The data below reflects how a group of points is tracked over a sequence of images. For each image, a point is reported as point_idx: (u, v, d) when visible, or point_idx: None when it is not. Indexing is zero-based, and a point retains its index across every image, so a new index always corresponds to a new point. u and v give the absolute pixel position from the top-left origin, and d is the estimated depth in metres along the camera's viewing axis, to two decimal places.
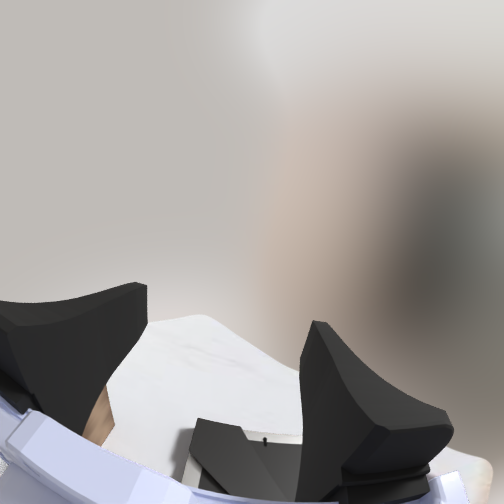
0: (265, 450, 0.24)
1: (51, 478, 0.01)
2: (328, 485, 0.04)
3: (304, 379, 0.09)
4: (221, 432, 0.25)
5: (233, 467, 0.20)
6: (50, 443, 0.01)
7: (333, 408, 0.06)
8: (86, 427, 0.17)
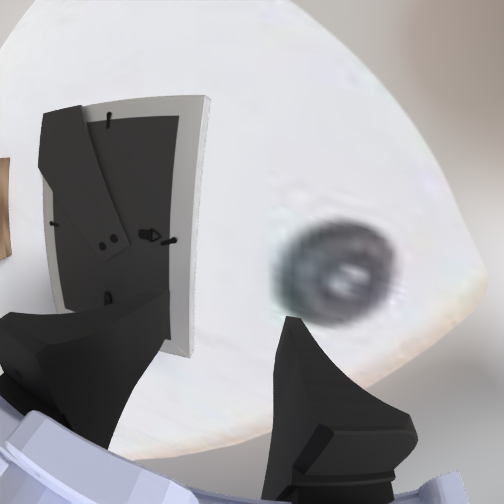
0: (106, 136, 0.17)
1: (51, 478, 0.01)
2: (282, 484, 0.04)
3: (276, 375, 0.10)
4: (61, 125, 0.16)
5: (72, 177, 0.18)
6: (50, 443, 0.01)
7: (293, 404, 0.06)
8: None
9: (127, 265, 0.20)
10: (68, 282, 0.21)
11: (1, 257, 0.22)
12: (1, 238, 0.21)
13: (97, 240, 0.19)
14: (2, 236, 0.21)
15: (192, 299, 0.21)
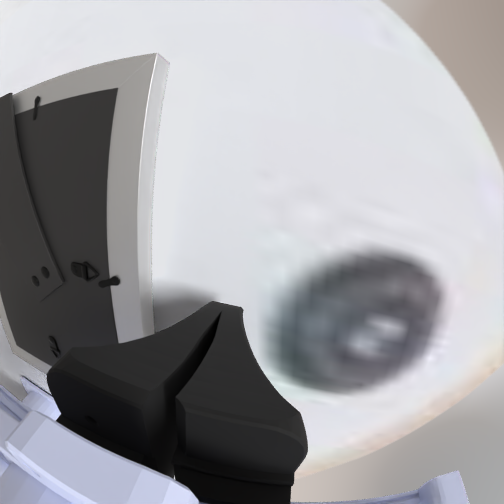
0: (32, 130, 0.10)
1: (51, 478, 0.01)
2: None
3: None
4: None
5: (1, 188, 0.11)
6: (50, 443, 0.01)
7: None
8: None
9: (65, 308, 0.13)
10: (13, 318, 0.14)
11: None
12: None
13: (29, 273, 0.12)
14: None
15: None
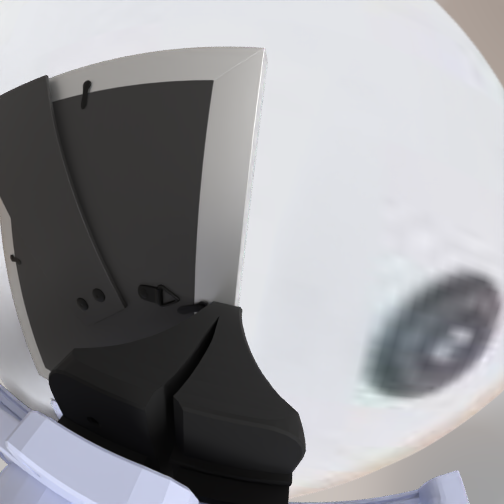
0: (81, 121, 0.09)
1: (51, 478, 0.01)
2: None
3: None
4: (18, 109, 0.08)
5: (32, 191, 0.10)
6: (50, 443, 0.01)
7: None
8: None
9: (124, 335, 0.12)
10: (44, 340, 0.13)
11: None
12: None
13: (73, 294, 0.11)
14: None
15: None
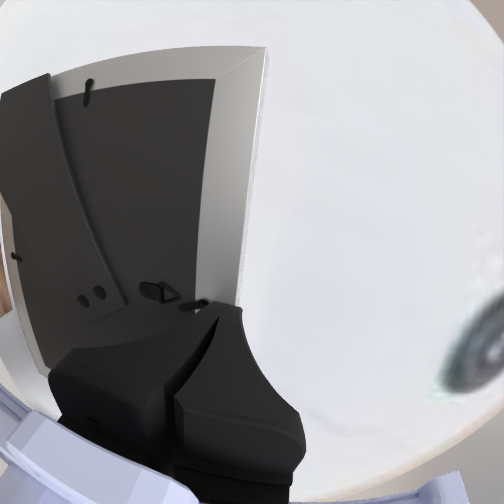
0: (83, 119, 0.09)
1: (51, 478, 0.01)
2: None
3: None
4: (20, 107, 0.08)
5: (33, 189, 0.10)
6: (50, 443, 0.01)
7: None
8: None
9: (124, 332, 0.12)
10: (44, 338, 0.13)
11: None
12: None
13: (74, 292, 0.11)
14: None
15: None
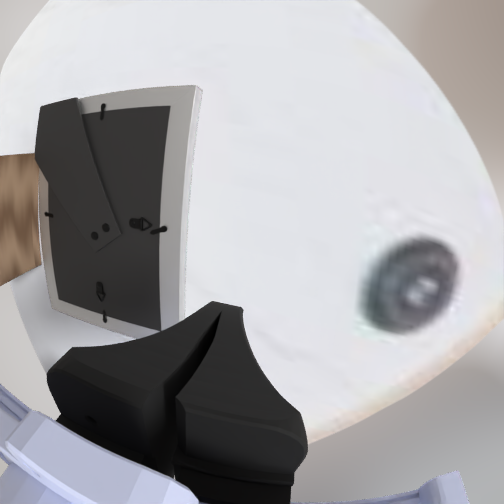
0: (100, 127, 0.17)
1: (51, 478, 0.01)
2: None
3: None
4: (57, 117, 0.16)
5: (67, 168, 0.18)
6: (50, 443, 0.01)
7: None
8: (3, 209, 0.16)
9: (118, 254, 0.20)
10: (62, 273, 0.21)
11: (30, 268, 0.21)
12: (30, 246, 0.21)
13: (89, 230, 0.19)
14: (31, 244, 0.21)
15: (182, 289, 0.21)
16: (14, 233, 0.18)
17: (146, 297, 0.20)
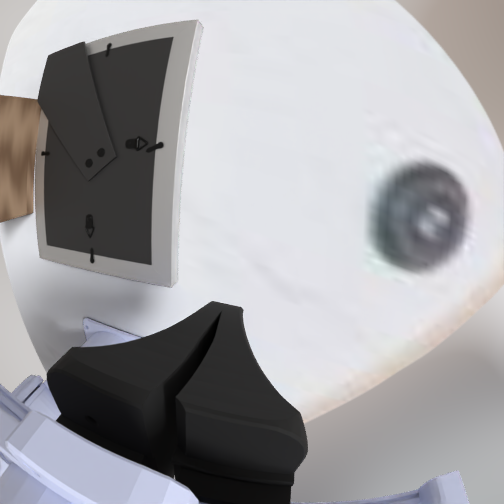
0: (105, 63, 0.15)
1: (51, 478, 0.01)
2: None
3: None
4: (64, 60, 0.15)
5: (69, 103, 0.16)
6: (50, 443, 0.01)
7: None
8: (1, 147, 0.14)
9: (111, 180, 0.18)
10: (52, 213, 0.19)
11: (21, 214, 0.19)
12: (23, 191, 0.19)
13: (84, 157, 0.17)
14: (24, 189, 0.19)
15: (176, 213, 0.19)
16: (9, 174, 0.16)
17: (137, 224, 0.19)
